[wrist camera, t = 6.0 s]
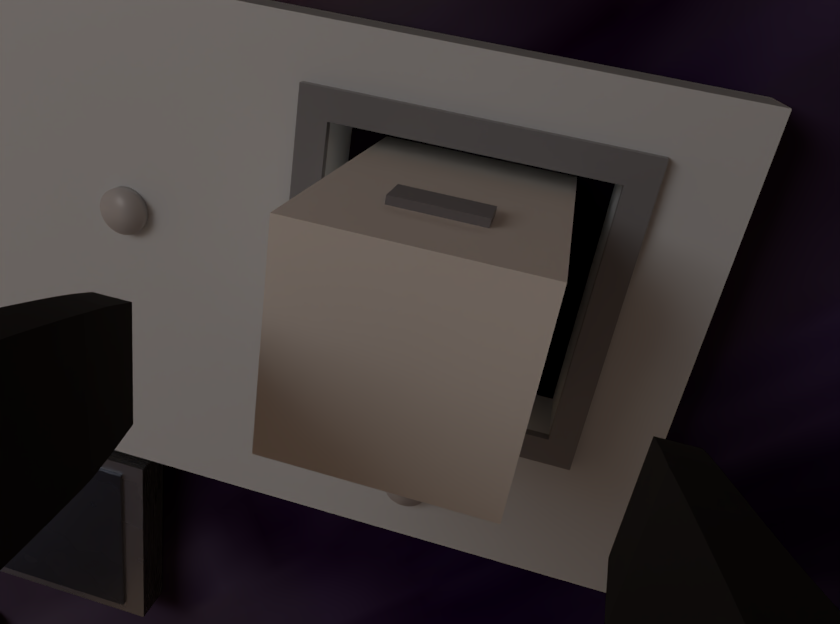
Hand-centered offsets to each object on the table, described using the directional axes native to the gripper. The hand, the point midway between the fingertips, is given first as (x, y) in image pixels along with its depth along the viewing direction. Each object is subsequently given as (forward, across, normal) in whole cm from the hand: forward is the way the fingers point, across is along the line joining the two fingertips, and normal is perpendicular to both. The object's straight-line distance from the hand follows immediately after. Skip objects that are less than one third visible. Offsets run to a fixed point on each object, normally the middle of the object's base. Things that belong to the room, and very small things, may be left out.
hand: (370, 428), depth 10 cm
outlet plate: (+7, +3, +1) cm, 7 cm away
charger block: (+7, 0, 0) cm, 7 cm away
